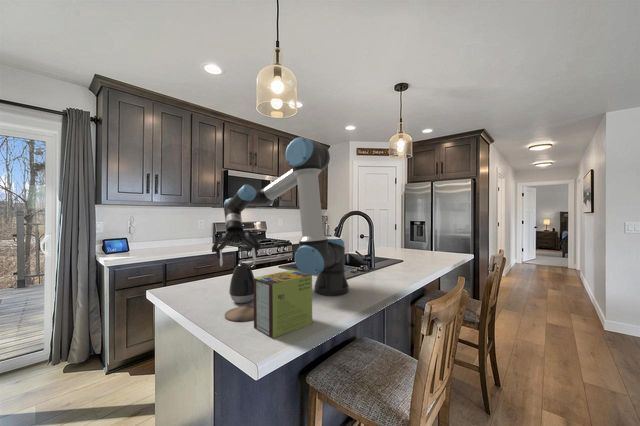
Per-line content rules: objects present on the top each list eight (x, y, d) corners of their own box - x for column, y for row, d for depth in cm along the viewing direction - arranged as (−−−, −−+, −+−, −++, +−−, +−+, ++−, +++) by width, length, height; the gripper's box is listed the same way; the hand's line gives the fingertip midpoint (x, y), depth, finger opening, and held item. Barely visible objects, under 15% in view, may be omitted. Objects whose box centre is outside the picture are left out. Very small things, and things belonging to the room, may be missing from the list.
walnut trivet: (264, 306, 103) (264, 305, 103) (263, 320, 90) (263, 318, 90) (228, 308, 101) (228, 307, 101) (221, 323, 88) (221, 321, 88)
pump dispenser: (249, 306, 103) (249, 265, 103) (224, 304, 105) (223, 264, 105) (261, 298, 113) (260, 260, 113) (237, 296, 115) (237, 260, 115)
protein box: (313, 323, 88) (312, 274, 88) (272, 339, 77) (272, 283, 77) (292, 314, 95) (292, 269, 95) (252, 328, 84) (252, 277, 84)
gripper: (259, 229, 137) (266, 265, 123) (205, 231, 126) (206, 270, 113) (262, 219, 132) (269, 255, 118) (205, 220, 121) (206, 260, 108)
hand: (238, 263), depth 115 cm, fingers open, 13 cm apart
